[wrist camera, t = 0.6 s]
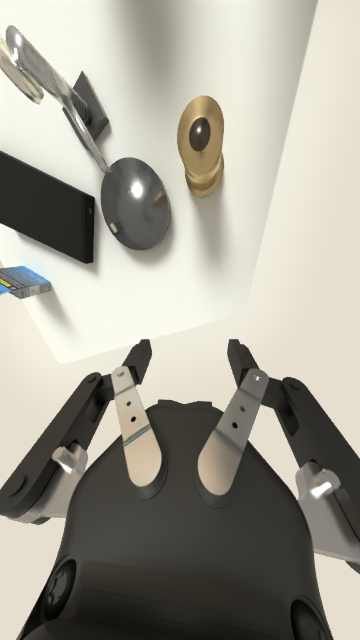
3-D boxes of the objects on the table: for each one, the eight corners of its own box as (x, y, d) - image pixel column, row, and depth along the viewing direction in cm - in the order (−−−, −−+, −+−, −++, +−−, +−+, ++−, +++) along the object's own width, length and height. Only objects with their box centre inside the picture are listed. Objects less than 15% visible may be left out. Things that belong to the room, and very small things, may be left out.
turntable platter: (92, 196, 28) (86, 194, 26) (142, 137, 22) (137, 130, 21) (133, 261, 33) (129, 262, 32) (182, 226, 27) (180, 225, 26)
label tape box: (24, 275, 44) (-33, 286, 34) (23, 264, 42) (-39, 272, 31) (50, 290, 45) (2, 306, 35) (50, 280, 43) (-1, 294, 32)
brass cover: (180, 165, 24) (161, 122, 15) (214, 133, 21) (216, 59, 13) (195, 205, 26) (187, 188, 17) (228, 180, 24) (238, 146, 15)
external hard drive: (-6, 147, 28) (-27, 138, 26) (96, 198, 29) (85, 194, 27) (14, 224, 36) (-1, 223, 34) (94, 262, 37) (85, 264, 34)
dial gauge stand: (67, 113, 23) (-38, 23, 14) (87, 77, 21) (-23, -66, 11) (113, 193, 28) (59, 168, 18) (134, 170, 25) (84, 127, 16)
